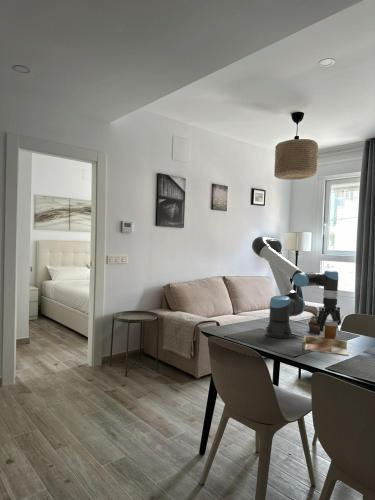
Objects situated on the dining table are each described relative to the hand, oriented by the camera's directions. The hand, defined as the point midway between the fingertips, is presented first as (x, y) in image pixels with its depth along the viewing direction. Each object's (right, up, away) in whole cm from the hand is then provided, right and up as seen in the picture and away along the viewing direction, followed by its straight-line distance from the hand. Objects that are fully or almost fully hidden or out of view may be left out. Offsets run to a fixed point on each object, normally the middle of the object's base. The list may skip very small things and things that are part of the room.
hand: (328, 336), depth 205 cm
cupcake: (+1, -3, +24) cm, 24 cm away
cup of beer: (0, -3, 0) cm, 3 cm away
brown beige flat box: (-8, -3, -16) cm, 18 cm away
